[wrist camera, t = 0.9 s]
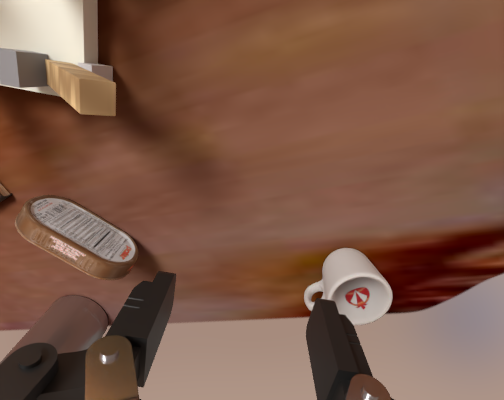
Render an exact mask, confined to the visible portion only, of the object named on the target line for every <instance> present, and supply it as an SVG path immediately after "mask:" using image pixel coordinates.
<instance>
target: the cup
mask: <svg viewBox="0 0 504 400" xmlns="http://www.w3.org/2000/svg"><path fill="white" fill-rule="evenodd" d="M322 273H323V278H322V280H321V281H319V282H316V283H314V284H312V285H310V286H309V287H308V288H307V289H306V290H305V293H304V301H305V304H306V306H307V307H308V309H309V310H311V311H312V309H313V306H314V303H315V302H311V298H312V295H313V294H314V293H316V292H318V291H322V292H323V296H322V298H321V299H326V300H332V301H335V303H336V306H337V309H338V312H339V314H343V315H346V316H347V318H348V319H349V320H350V321H351V323H352V324H353V325H364V324H368V323H371V322H374V321H376V320H378V319H379V318H381V317H382V316H383V315H384V314H385V313H386V312H387V311H388V309H389V308H390V306H391V303H392V298H393V295H392V290H391V287H390V285H389V284H388V282H387V281H386V280H385V279H384V277H383V276H382V275H381V274H380V273H379V271H378V270H377V269H376V268H375V266H374V265H373V264H372V263H371V262H370V260H369V259H368V258H367V257H366V256H365V255H364V254H363V253H361V252H360V251H358V250H356V249H352V248H341V249H338V250H336V251H334V252H332V253H331V254H330V255H329V256H328V257H327V258H326V259H325V261H324V264H323V269H322Z"/></svg>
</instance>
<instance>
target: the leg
mask: <svg viewBox="0 0 504 400" xmlns="http://www.w3.org/2000/svg"><path fill="white" fill-rule="evenodd" d="M45 63H46V78H47V84H48V85H49V86H50V87H51V88H52V89H53V90H54V91H55V92H56V93H58V94H59V95H60V96H61V97H62V98H63V99H64V100H65V101H66V102H67V103H69V104H70V105H71V106H72V107H73V108H74V109H75V110H76V111H77V112H79V113H80V114H87V115H103V116H116V83H115V82H112V81H110V80H108V79H106V78H104V77H101V76H99V75H97V74H95V73H93V72H90V71H88V70H86V69H84V68H82V67H79V66H77V65H75V64H73V63H68V62H61V61H54V60H48V59H45Z"/></svg>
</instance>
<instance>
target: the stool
mask: <svg viewBox="0 0 504 400" xmlns="http://www.w3.org/2000/svg"><path fill="white" fill-rule="evenodd" d="M45 59H48V60H54V61H61V62H68V63H73V64H75V65H77V66H79V67H82V68H84V69H86V70H88V71H90V72H93V73H95V74H97V75H99V76H101V77H104V78H106V79H108V80H110V81H112V82H113V66H108V65H103V64H98V0H0V85H2V86H7V87H12V88H18V89H23V90H28V91H33V92H39V93H44V94H49V95H55V96H60V95H59V94H58V93H56V92H55V91H54V90H53V89H52V88H51V87H50V86H49V85H48V84H47V78H46V63H45ZM60 97H61V96H60Z"/></svg>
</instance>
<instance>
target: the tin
mask: <svg viewBox="0 0 504 400" xmlns="http://www.w3.org/2000/svg"><path fill="white" fill-rule="evenodd" d="M15 226H16V229H17V231H18V232H19V234H20V235H21V236H22V237H23V238H24V239H26V240H27V241H29V242H30V243H32V244H34V245H35V246H37V247H39V248H41V249H43V250H44V251H46V252H48V253H50V254H52V255H53V256H55V257H57V258H59V259H61V260H62V261H64V262H66V263H68V264H70V265H71V266H73V267H75V268H77V269H78V270H80V271H82V272H84V273H85V274H87V275H89V276H92V277H94V278H98V279H102V280H117V279H121V278H123V277H125V276H126V275H128V274H129V272H130V271H131V269H132V267H133V265H134V264H135V262H136V261H137V258H138V247H137V245H136V243H135V242H134V240H133V239H132V238H131V237H130V236H129V235H128V234H127V233H125V232H124V231H122V230H121V229H119V228H117V227H116V226H114V225H112V224H111V223H109V222H107V221H106V220H104V219H103V218H101V217H99V216H98V215H96V214H94V213H93V212H91V211H89V210H88V209H86V208H84V207H83V206H81V205H79V204H77V203H76V202H74V201H71V200H69V199H66V198H63V197H59V196H53V195H42V196H38V197H35V198H32V199H30V200H28V201H27V202H26V203H25V204H24V206H23V207H22V209H21V211H20V213H19V214H18V215H17V217H16V219H15Z"/></svg>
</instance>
